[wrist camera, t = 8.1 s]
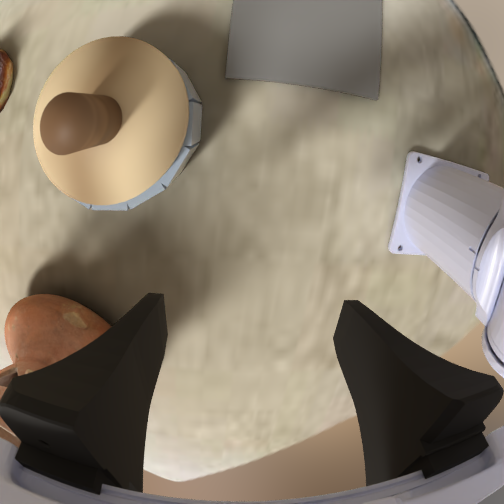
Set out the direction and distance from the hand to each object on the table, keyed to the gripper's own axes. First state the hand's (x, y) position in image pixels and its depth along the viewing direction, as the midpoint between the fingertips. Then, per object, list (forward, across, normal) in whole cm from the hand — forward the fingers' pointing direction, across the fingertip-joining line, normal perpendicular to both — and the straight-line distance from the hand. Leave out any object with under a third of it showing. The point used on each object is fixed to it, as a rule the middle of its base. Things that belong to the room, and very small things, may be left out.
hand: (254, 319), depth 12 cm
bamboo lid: (+6, +8, -7) cm, 12 cm away
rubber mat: (+10, -3, -15) cm, 18 cm away
